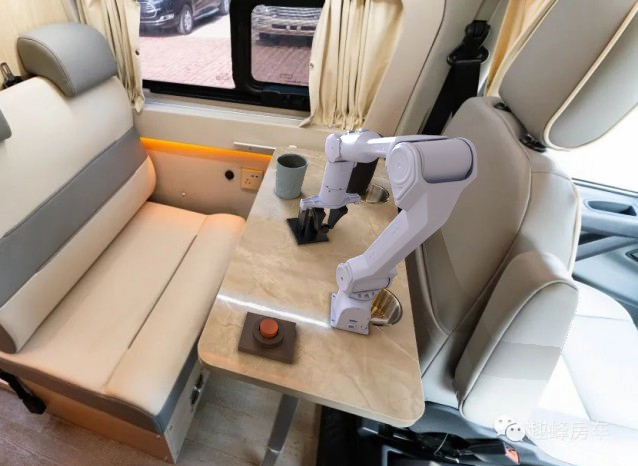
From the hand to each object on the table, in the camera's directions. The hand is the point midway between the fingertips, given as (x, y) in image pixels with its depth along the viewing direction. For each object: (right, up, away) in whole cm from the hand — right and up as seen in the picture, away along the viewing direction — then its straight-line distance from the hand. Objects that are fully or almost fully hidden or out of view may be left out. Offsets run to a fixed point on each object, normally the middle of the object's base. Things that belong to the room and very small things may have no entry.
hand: (323, 227), depth 85 cm
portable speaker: (+19, +13, +28) cm, 37 cm away
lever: (-1, +1, +4) cm, 4 cm away
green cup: (-4, +13, +28) cm, 31 cm away
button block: (-17, -24, -14) cm, 33 cm away
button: (-17, -22, -16) cm, 32 cm away
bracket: (-1, -1, +12) cm, 12 cm away
